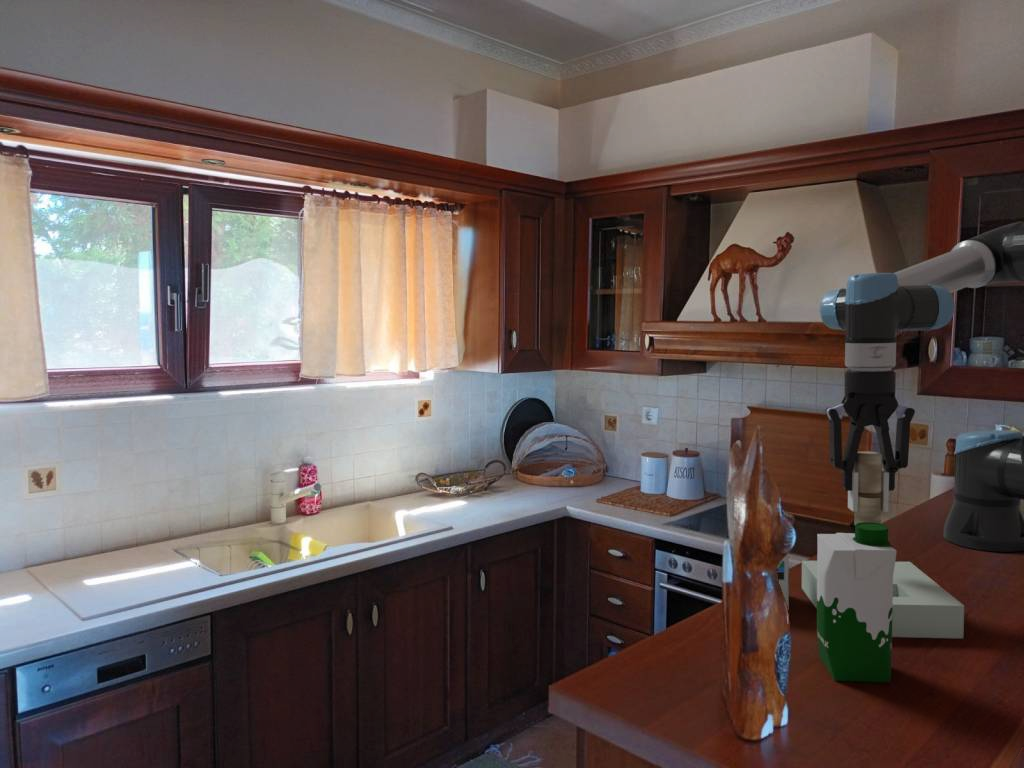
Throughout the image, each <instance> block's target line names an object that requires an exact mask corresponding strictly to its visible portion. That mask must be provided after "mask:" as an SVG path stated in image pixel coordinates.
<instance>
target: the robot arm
mask: <svg viewBox="0 0 1024 768" xmlns="http://www.w3.org/2000/svg"><path fill="white" fill-rule="evenodd" d="M846 281H847V282H846V288H844V287H843V288H840V289H834V290H831V291H828V292H827V293H826V294H825V295H823V298H822V299H821V301H820V304H819V315H820V318H821V322H822V323H823V324H824V325H825V326H826V327H827V328H829V329H831V330H839V331H840V330H841V331H843V332H845V343H844V344H845V345H844V347H845V349H844V351H845V352H844V366H845V367H846V368H848V369H846V370H845V372H844V397H843V398H842V401H841V403H840V404H838V405H836V406H834V407H829V406H828V407H826V408H825V411H824V412H825V414H826V418H827V419H828V421H829V422H828V423H829V426H828V427H829V429H828V430H829V459H830V460H829V461H830V464H831V466H833V467H835V468H837V469H840V470H841V472H842V474H841V476H842V477H841V486H842V488H843V490H844V491H847V508H848V509H849V510H850V511H851V512H853V513H854V512H858V472H856V471H855V461H856V457H857V453H858V452H859V449H860V448H859V447H860V444H861V439H862V434H863V432H864V431H865V427H868V426H873V428H874V430H875V433H876V438H877V443H878V447H879V453H881V454H882V497H881V512H883V513H889V497H890V496H889V495H890V494H889V493H890V491H891V492H893V491H894V490H895V485H896V483H895V481H896V473H898V471H899V470H900V469H905V468H908V466H909V451H910V435H911V434H910V433H911V422H912V420H913V418H914V415H915V413H916V409H914V408H912V407H909V406H907V405H902V404H899V401H898V400H897V398H896V382H897V381H896V378H897V373H896V372H895V370H893V369H892V368H895V367H896V365H897V332H906V331H908V332H912V331H913V332H914V331H915V332H916V331H922V332H923V331H925V332H929V331H931V330H938V329H941V328H943V327H945V326H947V325H948V323H950V321H951V320H952V318H953V316H954V314H955V307H956V306H955V300H954V296H953V295H952V293H955V292H957V291H959V290H960V291H961V290H962V289H965V288H968V289H969V288H971V289H978V288H980V287H984V286H986V285H991V284H992V285H993V284H1001V283H1003V284H1005V283H1024V220H1023V221H1017V222H1013V223H1012V222H1011V223H1009V224H1005V225H1001V226H999V227H997V228H994V229H990V230H989V231H985V232H982V233H981V234H978V235H976V236H973V237H970V238H967V239H966V240H963V241H961V242H959V243H957V244H956V245H954V246H953V248H952V249H951V250H950V251H948V252H945V253H943V254H940V255H938V256H935V257H932V258H929V259H927V260H924V261H922V262H919V263H917V264H914V265H912V266H908V267H906V268H904V269H901V270H898V271H896V272H872V273H871V272H869V273H858V274H857V273H856V274H852V275H851V276H849V277H848V279H847V280H846ZM844 412H845V413H846V415H847V416H848V417H849V418H850V423H849V432H848V435H847V440H846V445H845V447H844V448H845V449H844V453H843V442H842V441H843V437H842V434H843V433H842V421H841V420H842V419H843V417H844V416H843V415H844V414H843V413H844ZM894 413H895V417H896V418H897V419H896V425H895V426H896V428H895V429H896V430H895V444H894V445H895V447H894V449H893V446H892V441H891V436H890V426H889V425H890V424H889V421H888V420H889V419H890V417H892V415H893V414H894ZM953 454H954V489H953V490H954V492H953V494H954V495H953V496H954V497H953V504H952V505H951V508H950V511H949V513H948V516H947V518H946V521H945V523H944V525H943V538H944V539H945V540H946V541H947V542H950V543H951V544H954V545H957V546H961V547H965V548H968V549H973V550H980V551H988V552H1004V553H1005V552H1006V553H1007V552H1010V553H1011V552H1020V551H1024V515H1023V511H1022V509H1021V500H1023V501H1024V432H1022V431H1021V430H1011V429H997V430H995V429H993V430H978V431H967V432H963V433H960V434H958V436H957V438H956V440H955V450H954V452H953Z"/></svg>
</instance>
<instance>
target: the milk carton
mask: <svg viewBox="0 0 1024 768" xmlns="http://www.w3.org/2000/svg"><path fill="white" fill-rule="evenodd" d="M854 526H855V527H854V533H851V532H847V533H845V532H836V533H817V537H816V538H817V539H816V540H817V554H816V555H817V557H816V558H817V559H816V561H817V609H816V633H817V634H816V635H817V637H816V638H817V645H818V646H817V647H818V658H819V659H820V661H821V662H822V664H823V665H824V666H825V668H826V670H827V672H829V674H830V676H831V677H832V679H833V680H834V681H835V682H863V683H864V682H865V683H866V682H868V683H869V682H870V683H871V682H872V683H891V681H892V679H891V677H892V652H893V651H892V648H893V637H892V611H893V574H894V566H895V562H896V559H897V553H898V552H897V550H896V549H895V548H894V546H893V545H891V542H890V541H889V527H888V526H887V525H886V524H882V523H881V524H879V523H871V522H862V523H857V524H856V525H855V524H854Z"/></svg>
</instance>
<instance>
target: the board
mask: <svg viewBox="0 0 1024 768" xmlns="http://www.w3.org/2000/svg"><path fill="white" fill-rule="evenodd" d="M801 589H802V590H803V592H804V593H805V595H806V596H807V598H808V599H809V600H810V602H811V603H812V604H813V606H814V607H815V609H816V610H817V560H801ZM964 620H965V605H964V604H963V603H961V602H960V601H959V600H958V599H956V597H954V596H953V595H951V594H950V593H949V592H948V591H946V590H945V589H944V588H943V587H942V586H940V585H939V584H938V583H937V582H936V581H934V580H933V579H932V578H931V577H929V576H928V575H927V574H926V573H924V572H923V570H921V569H919V568H918V567H917V566H916V565H914V564H913V563H912V562H911V561H895V566H894V574H893V611H892V638H914V639H915V638H916V639H917V638H919V639H920V638H923V639H926V638H927V639H928V638H929V639H962V640H963V639H964V632H965V631H964V630H965V629H964V627H965V626H964V624H965V621H964Z"/></svg>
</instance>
